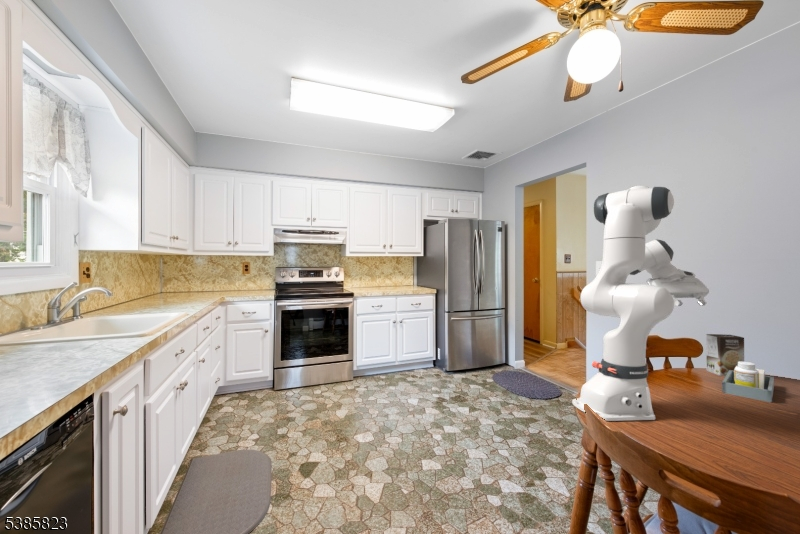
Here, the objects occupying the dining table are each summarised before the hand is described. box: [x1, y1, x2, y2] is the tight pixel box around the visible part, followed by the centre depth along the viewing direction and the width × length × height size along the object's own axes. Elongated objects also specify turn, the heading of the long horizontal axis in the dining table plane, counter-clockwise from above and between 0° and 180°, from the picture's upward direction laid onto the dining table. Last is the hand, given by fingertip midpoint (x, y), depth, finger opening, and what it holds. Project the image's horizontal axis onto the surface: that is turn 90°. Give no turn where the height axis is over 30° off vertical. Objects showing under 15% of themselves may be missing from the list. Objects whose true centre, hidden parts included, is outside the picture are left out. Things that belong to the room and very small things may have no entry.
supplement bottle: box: [735, 361, 759, 388], centre depth 109 cm, size 6×6×10 cm
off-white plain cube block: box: [734, 366, 766, 389], centre depth 115 cm, size 6×7×6 cm
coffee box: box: [705, 333, 745, 377], centre depth 129 cm, size 9×6×16 cm
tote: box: [721, 370, 775, 403], centre depth 112 cm, size 20×11×4 cm, turn 129°
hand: (691, 304), depth 123 cm, fingers open, 8 cm apart
